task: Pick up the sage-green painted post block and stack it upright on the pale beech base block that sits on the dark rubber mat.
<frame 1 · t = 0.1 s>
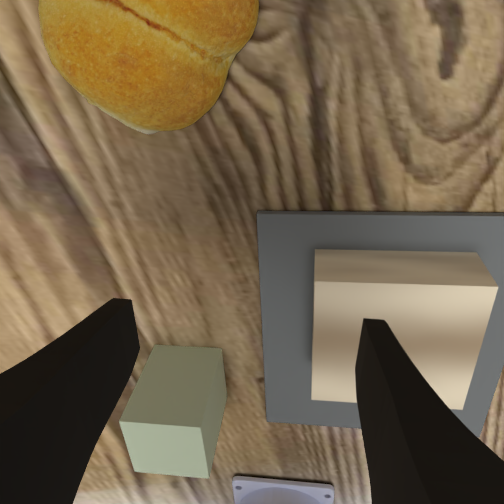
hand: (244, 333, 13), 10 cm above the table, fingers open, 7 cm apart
post: (192, 371, 29), on the table
bread roll: (158, 17, 19), on the table
base: (385, 312, 24), resting on mat
mat: (380, 335, 25), on the table
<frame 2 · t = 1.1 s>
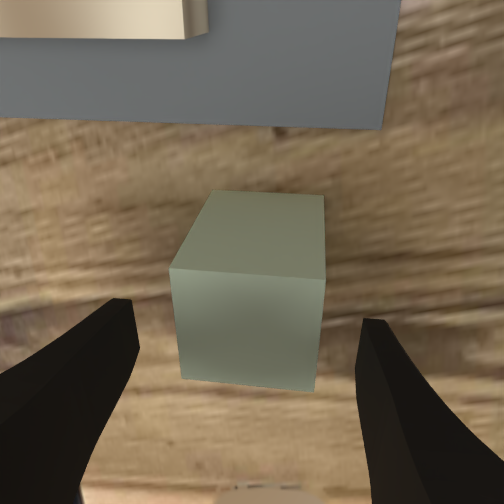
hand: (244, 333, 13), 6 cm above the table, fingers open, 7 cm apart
post: (266, 240, 18), on the table
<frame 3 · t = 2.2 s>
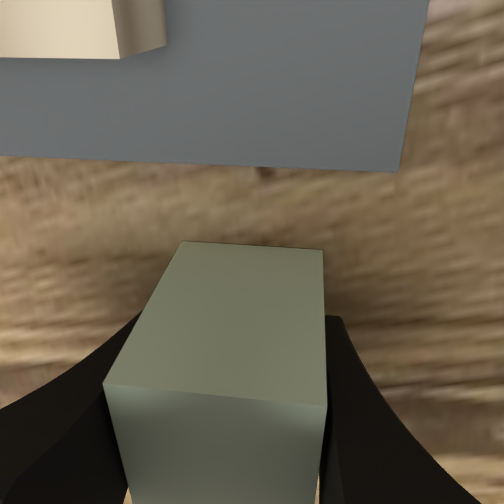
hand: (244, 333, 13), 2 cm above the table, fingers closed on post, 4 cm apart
post: (250, 302, 15), on the table, touching gripper
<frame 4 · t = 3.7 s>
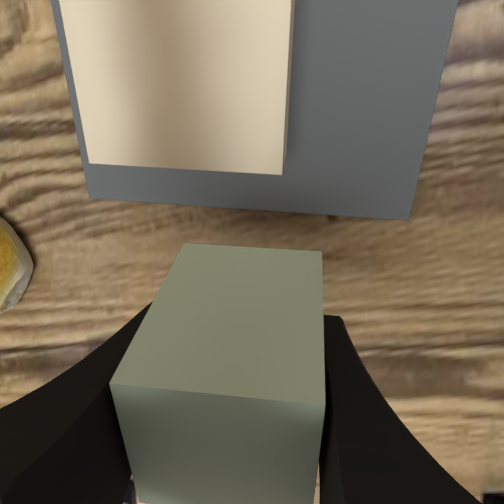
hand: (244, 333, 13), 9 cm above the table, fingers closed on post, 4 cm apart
post: (252, 302, 15), point 8 cm above the table, touching gripper
base: (196, 52, 18), resting on mat
mat: (244, 53, 18), on the table
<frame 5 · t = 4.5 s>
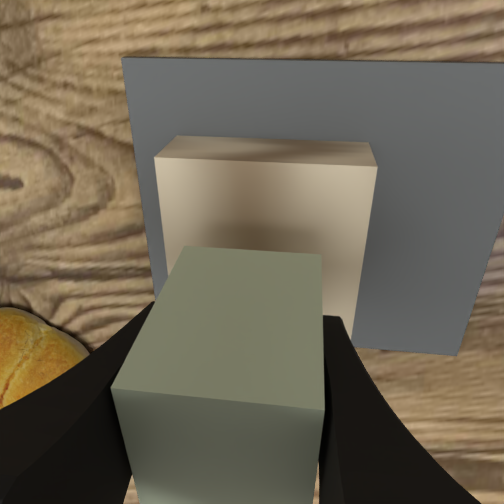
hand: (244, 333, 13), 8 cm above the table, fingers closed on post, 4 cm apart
post: (251, 304, 15), point 6 cm above the table, touching gripper
bread roll: (41, 355, 28), on the table
base: (268, 224, 20), resting on mat
mat: (311, 223, 20), on the table
when the fingers open (6 cm above the table, at t = 5.3 s): post stays where it is, resting on base.
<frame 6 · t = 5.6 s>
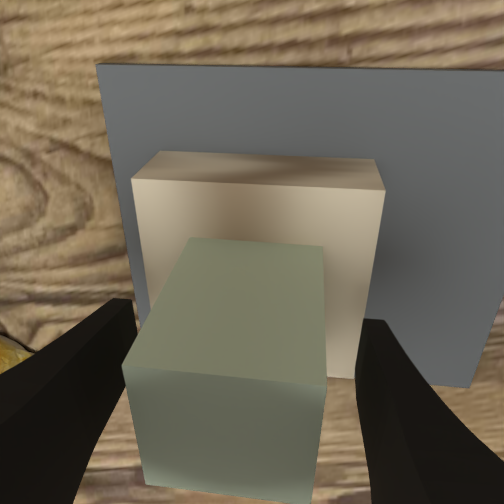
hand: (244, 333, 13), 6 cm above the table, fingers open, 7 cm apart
post: (254, 295, 15), point 3 cm above the table, touching base
bread roll: (21, 380, 26), on the table
base: (262, 247, 18), resting on mat, touching post
mat: (310, 246, 18), on the table
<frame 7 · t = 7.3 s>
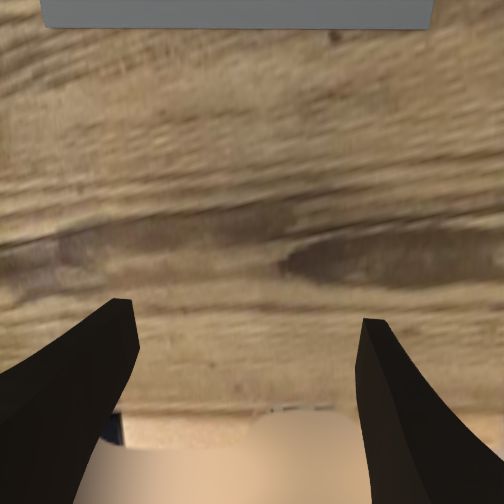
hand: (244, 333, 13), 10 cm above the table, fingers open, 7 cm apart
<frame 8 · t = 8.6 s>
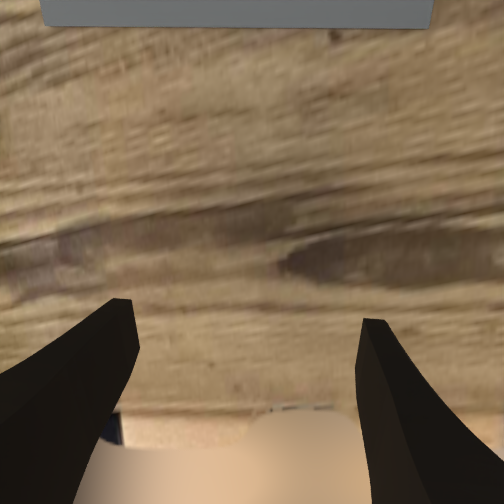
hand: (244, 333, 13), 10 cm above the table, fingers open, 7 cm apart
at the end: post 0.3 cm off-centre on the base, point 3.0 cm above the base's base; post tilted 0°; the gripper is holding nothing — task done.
